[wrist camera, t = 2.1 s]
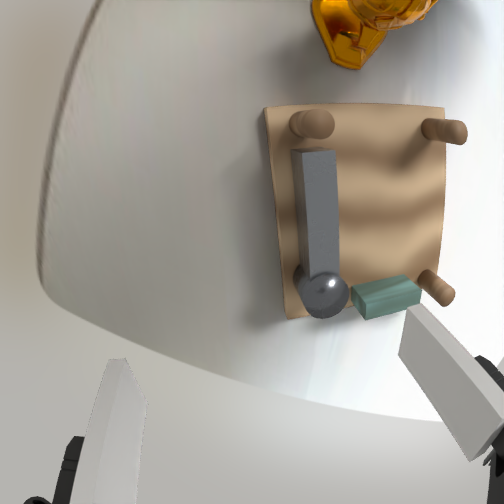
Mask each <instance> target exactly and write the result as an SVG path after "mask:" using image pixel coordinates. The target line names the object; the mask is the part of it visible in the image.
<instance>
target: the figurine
mask: <svg viewBox="0 0 504 504" xmlns="http://www.w3.org/2000/svg"><path fill="white" fill-rule="evenodd" d="M437 1H438V0H312V4H311V8H312V14H313V17H314V20H315V23H316V26H317V28H318V31H319V33H320V35H321V38H322V40H323V42H324V44H325V47H326V49H327V51H328V54H329V57H330V59H331V62H333V63H335V64H337V65H339V66H341V67H344V68H348V69H353V70H360V69H361V67H362V66H363V65H364V64H365V62H366V61H367V60H368V59H369V58H370V57H371V56H372V54H373V53H374V52H375V51H376V50H377V49H378V47H379V46H380V45H381V43H382V42H383V41H384V39H385V37H386V35H387V32H388V30H395V29H399V28H401V27H402V26H403V25H409V24H412V23H413V22H414V21H415V20H419V21H420V20H423V19H424V18H425V13H428V10H429V9H430V8H431V7H432V6H433V5H434V4H435V3H436V2H437Z"/></svg>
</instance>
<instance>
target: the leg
mask: <svg viewBox="0 0 504 504" xmlns="http://www.w3.org/2000/svg"><path fill="white" fill-rule="evenodd" d="M290 153H291V163H292V173H293V184H294V195H295V207H296V220H297V233H298V247H299V262H300V264H299V265H298V267H297V268H296V270H295V272H294V275H293V284H294V286H295V288H296V290H297V292H298V294H299V296H300V298H301V301H302V303H303V305H304V307H305V309H306V311H307V312H308V313H309V314H310V315H311V316H313V317H315V318H321V319H322V318H329V317H332V316H334V315H336V314H337V313H339V312H340V311H341V310H342V309H343V308H344V307H345V305H346V304H347V302H348V299H349V288H348V286H347V284H346V283H345V281H344V280H343V279H342V278H341V276H340V250H339V206H338V184H337V167H336V152H335V150H333V149H328V148H324V147H309V148H298V149H290Z"/></svg>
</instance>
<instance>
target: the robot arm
mask: <svg viewBox="0 0 504 504" xmlns="http://www.w3.org/2000/svg"><path fill="white" fill-rule="evenodd" d="M398 356H399V357H400V359H401V360H402V362H403V363H404V364H405V366H406V367H407V369H408V370H409V371H410V373H411V374H412V376H413V377H414V379H415V380H416V381H417V383H418V384H419V386H420V387H421V389H422V390H423V392H424V393H425V395H426V396H427V397H428V399H429V400H430V402H431V403H432V405H433V406H434V408H435V409H436V411H437V412H438V414H439V415H440V417H441V418H442V420H443V421H444V423H445V425H446V426H447V427H448V429H449V431H450V432H451V433H452V435H453V437H454V438H455V440H456V442H457V443H458V445H459V446H460V448H461V449H462V451H463V453H464V454H465V456H466V458H467V459H468V461H469V462H471V461H472V460H474V459H476V458H477V457H479V456H480V455H482V454H483V453H485V451H486V450H487V449H488V448H489V446H490V445H492V446H493V448H494V449H493V450H492V451H491V452H490V454H489V455H488V456H487V458H486V459H485V460H484V463H483V466H485V465H486V464H487V463H488V462H489V461H490V459H491V461H490V463H489V466H490V465H491V467H490V480H489V491H488V499H487V504H504V376H503V375H502V374H501V372H500V371H498V369H497V368H496V367H495V366H494V365H493V364H492V363H491V361H489V360H487V359H486V358H484V357H482V356H480V355H479V356H477V357H475V358H474V357H473V356H472V355H471V354H470V353H469V352H468V351H467V350H466V349H465V348H464V347H463V346H462V344H461V343H460V342H459V341H458V340H457V339H456V338H455V337H454V336H453V335H452V334H451V333H450V332H449V331H448V330H447V329H446V328H445V327H444V326H443V325H442V324H441V322H440V321H439V320H438V319H437V318H436V317H435V316H434V315H433V314H432V313H431V312H430V311H429V310H428V309H427V308H426V307H425V306H424V305H423V304H422V303H420V304H417V305H413V306H410V307H407V311H406V317H405V322H404V328H403V333H402V338H401V343H400V348H399V353H398ZM147 405H148V402H147V400H146V398H145V396H144V395H143V393H142V391H141V389H140V387H139V385H138V383H137V381H136V379H135V377H134V375H133V373H132V371H131V370H130V367H129V365H128V363H127V361H126V359H114V360H109V361H108V364H107V366H106V369H105V372H104V376H103V378H102V381H101V385H100V388H99V391H98V394H97V397H96V401H95V404H94V407H93V410H92V414H91V417H90V421H89V424H88V428H87V431H86V435H85V437H79V436H74V437H73V439H72V440H71V441H70V443H69V444H68V446H67V448H66V451H65V455H64V461H63V462H62V466H61V470H60V473H59V477H58V481H57V485H56V490H55V494H54V499H53V502H52V504H136V497H137V486H138V475H139V466H140V457H141V449H142V441H143V433H144V426H145V419H146V411H147ZM24 504H51V503H50V502H48V501H47V500H46V499H44V498H42V497H38V496H37V497H31V498H29V499H28V500H26V501H25V503H24Z"/></svg>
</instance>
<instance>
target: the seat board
mask: <svg viewBox="0 0 504 504" xmlns="http://www.w3.org/2000/svg"><path fill="white" fill-rule="evenodd" d="M264 113H265V121H266V129H267V138H268V146H269V155H270V164H271V173H272V182H273V191H274V200H275V210H276V220H277V230H278V240H279V250H280V261H281V272H282V283H283V295H284V307H285V314H286V316H287V319H288V320H289V319H294V318H299V317H304V316H309V315H310V314H309V313H308V312H307V311H306V309H305V307H304V305H303V303H302V301H301V298H300V296H299V294H298V292H297V290H296V288H295V286H294V284H293V275H294V272H295V270H296V268H297V267H298V265H299V264H300V262H299V247H298V233H297V220H296V207H295V195H294V184H293V173H292V163H291V153H290V149H298V148H309V147H324V148H328V149H333V150H335V152H336V167H337V184H338V206H339V250H340V276H341V278H342V279H343V280H344V281H345V283H346V284H347V286H348V288H349V299H348V302H347V304H346V305H345V307H344V308H347V307H351V306H355V307H356V308H357V310H358V311H359V312H360V314H361V315H362V317H363V318H364V319H365V320H369V319H373V318H376V317H380V316H384V315H388V314H391V313H395V312H399V311H402V310H406V309H407V307H410V306H413V305H417V304H420V299H421V293H422V290H421V289H424V290H425V291H426V292H427V293H428V294H429V295H430V296H431V297H432V298H434V299H435V300H436V301H437V302H438V303H439V304H440V305H441V306H442V307H446V306H448V305H449V304H450V303H451V302H452V301H453V299H454V297H455V290H454V289H453V288H452V287H451V286H449V285H448V284H447V283H446V282H445V281H443V280H442V279H441V278H440V277H438V276H437V270H438V263H439V256H440V248H441V240H442V230H443V219H444V206H445V186H446V143H451V144H456V145H463V144H464V143H465V142H466V140H467V136H468V132H467V128H466V126H465V124H464V123H463V122H462V121H459V120H448V119H445V114H444V108H440V107H430V106H418V105H403V104H379V103H328V104H304V105H288V106H275V107H266V108H264Z"/></svg>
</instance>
